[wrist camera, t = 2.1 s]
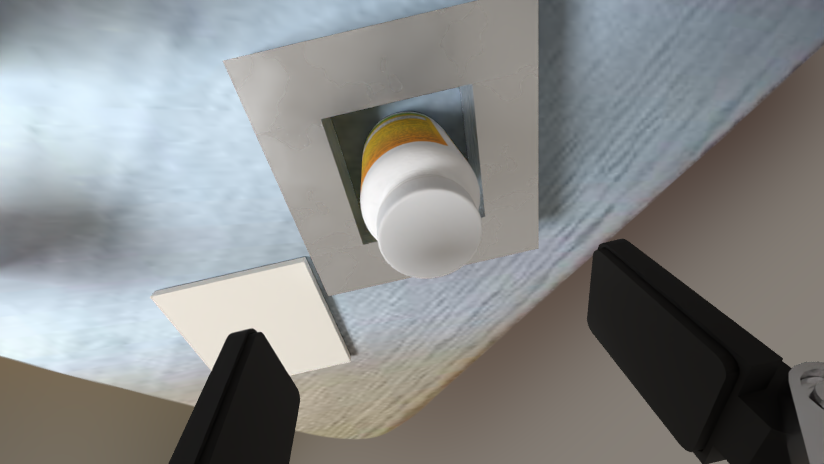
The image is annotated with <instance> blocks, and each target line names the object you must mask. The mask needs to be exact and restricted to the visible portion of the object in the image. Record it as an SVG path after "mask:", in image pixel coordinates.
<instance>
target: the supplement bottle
mask: <svg viewBox="0 0 824 464" xmlns="http://www.w3.org/2000/svg"><path fill="white" fill-rule="evenodd" d="M360 203H361V211H362V216H363V219H364V222H365V224H366V226H367V228H368V230H369V231H370V233H371V234H372V235H373V236H374V238H375V239H376V240H377V241H378V245H379V249H380V251H381V254H382V255H383V257H384V259H385V260H386V261H387V263H388V264H389V265H390V266H391V267H392V268H394V269H395V270H397V271H398V272H400V273H402V274H404V275H407V276H410V277H415V278H422V279H429V278H437V277H442V276H445V275H448V274H450V273H452V272H454V271H456V270H458V269H460V268H461V267H462V266H464V265H465V264H466V263H467V262H468V261H469V260H470V259H471V258H472V257H473V255H474V254H475V253H476V251H477V249H478V247H479V245H480V242H481V239H482V233H483V225H482V219H481V216H480V213H479V211H478V210H479V205H480V189H479V184H478V181H477V178H476V176H475V173H474V172H473V170H472V168H471V166H470V165H469V163H468V162H467V160H466V159H465V158H464V156H463V155H462V154H461V152H460V151H459V150H458V149H457V147H456V146H455V144H454V143H453V142H452V140H451V139H450V137H449V136H448V135H447V133H446V132H445V131H444V130H443V128H442V127H441V126H440V125H439V124H438V123H437V122H436V121H434V120H433V119H431V118H430V117H428V116H426V115H423V114H420V113H416V112H399V113H395V114H392V115H389V116H387V117H385V118H384V119H382V120H381V121H380V122H378V123H377V124H376V125H375V126H374V127H373V129H372V130H371V131H370V133H369V134H368V136H367V138H366V141H365V144H364V148H363V154H362V177H361V194H360Z"/></svg>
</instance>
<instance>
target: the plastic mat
mask: <svg viewBox="0 0 824 464" xmlns="http://www.w3.org/2000/svg"><path fill="white" fill-rule="evenodd" d="M150 298H151V299H152V300H153V301H154V302H155V304H156V305H157V306H158V307H159V308H160V310H161V311H162V312H163V313H164V314H165V316H166V317H167V318H168V319H169V320H170V322H171V323H172V324H173V325H174V326H175V328H176V329H177V330H178V331H179V332H180V334H181V335H182V336H183V337H184V338H185V340H186V341H187V342H188V343H189V344H190V346H191V347H192V348H193V349H194V351H195V352H196V353H197V354H198V355H199V357H200V358H201V359H202V360H203V361H204V363H205V364H206V365H207V366H208V367H209V369H210V370H211V371H212V369H213V366H214V364H215V362H216V360H217V358H218V356H219V353H220V351H221V349H222V347H223V345H224V343H225V340H226V338H227V337H228V335H229V334H231V333H234V332H238V331H242V330H246V329H250V328H253V329H255V330H256V331H257V332H262V333H263V334H264V335H265V337H266V339H267V340H268V342H269V343H270V345H271V347H272V348H273V350H274V351H275V353H276V355H277V356H278V358H279V360H280V361H281V363H282V364H283V366H284V368H285V369H286V371H287V372H288V374H289V376H290V375H294V374H298V373H303V372H307V371H312V370H316V369H321V368H325V367H329V366H334V365H338V364H343V363H347V362H350V361H351V355H350V353H349V351H348V349H347V347H346V345H345V342H344V340H343V338H342V336H341V334H340V331H339V329H338V327H337V325H336V323H335V321H334V318H333V316H332V314H331V312H330V310H329V307H328V305H327V303H326V301H325V299H324V297H323V294H322V292H321V290H320V288H319V286H318V284H317V281H316V279H315V277H314V275H313V273H312V270H311V268H310V266H309V264H308V262H307V260H306V257H302V258H298V259H293V260H289V261H285V262H280V263H276V264H272V265H267V266H263V267H259V268H254V269H250V270H245V271H241V272H237V273H232V274H228V275H224V276H219V277H215V278H211V279H206V280H202V281H198V282H193V283H189V284H184V285H180V286H176V287H171V288H167V289H163V290H158V291H155V292H154V293H153V294H152V295H151V297H150Z"/></svg>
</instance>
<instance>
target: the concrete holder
mask: <svg viewBox="0 0 824 464" xmlns="http://www.w3.org/2000/svg"><path fill="white" fill-rule="evenodd" d="M223 63H224V65H225V67H226V69H227V72H228V74H229V76H230V78H231V80H232V83H233V85H234V87H235V89H236V92H237V94H238V96H239V98H240V101H241V103H242V105H243V107H244V109H245V112H246V114H247V116H248V118H249V121H250V123H251V125H252V127H253V130H254V132H255V134H256V136H257V138H258V141H259V143H260V145H261V147H262V150H263V152H264V154H265V156H266V158H267V161H268V163H269V165H270V167H271V170H272V172H273V174H274V176H275V179H276V181H277V183H278V185H279V187H280V190H281V192H282V194H283V196H284V199H285V201H286V203H287V205H288V208H289V210H290V212H291V214H292V216H293V219H294V221H295V223H296V225H297V228H298V230H299V232H300V234H301V237H302V239H303V241H304V243H305V245H306V248H307V250H308V252H309V254H310V257H311V259H312V261H313V263H314V266H315V268H316V270H317V272H318V274H319V277H320V279H321V281H322V283H323V286H324V288H325V290H326V292H327V294H328V296H332V295H336V294H340V293H345V292H349V291H354V290H358V289H362V288H367V287H371V286H376V285H380V284H384V283H389V282H393V281H397V280H402V279H406V278H411V277H410V276H407V275H404V274H402V273H400V272H398V271H397V270H395V269H394V268H392V267H391V266H390V265H389V264H388V263H387V261H386V260H385V259H384V257H383V255H382V254H381V251H380V249H379V245H378V241H377V240H376V239H375V238H374V236H373V235H372V234H371V233H370V231H369V230H368V228H367V226H366V224H365V222H364V219H363V216H362V213H361V210H360V207H359V204H358V201H357V197H356V194H355V191H354V188H353V185H352V182H351V179H350V176H349V173H348V169H347V166H346V163H345V160H344V157H343V154H342V151H341V148H340V144H339V141H338V138H337V135H336V132H335V129H334V126H333V123H332V120H331V117H332V116H336V115H341V114H345V113H349V112H353V111H358V110H362V109H366V108H371V107H375V106H379V105H383V104H388V103H392V102H396V101H400V100H405V99H409V98H413V97H417V96H422V95H426V94H430V93H434V92H439V91H443V90H447V89H452V88H456V87H460V96H461V104H462V113H463V121H464V130H465V139H466V147H467V156H468V163H469V165H470V166H471V168H472V170H473V172H474V173H475V176H476V178H477V181H478V184H479V189H480V205H479V210H478V211H479V213H480V216H481V219H482V225H483V233H482V239H481V242H480V245H479V247H478V249H477V251H476V253H475V254H474V255H473V257H472V258H471V259H470V260H469V261H468V262H467V263H466V264H465V265H468V264H472V263H477V262H481V261H485V260H490V259H494V258H498V257H503V256H507V255H512V254H516V253H520V252H525V251H529V250H534V249H538V0H477V1H473V2H469V3H464V4H460V5H456V6H452V7H448V8H443V9H439V10H435V11H431V12H427V13H422V14H418V15H414V16H410V17H406V18H401V19H397V20H393V21H389V22H384V23H380V24H376V25H372V26H368V27H363V28H359V29H355V30H351V31H347V32H342V33H338V34H334V35H330V36H326V37H321V38H317V39H313V40H309V41H305V42H300V43H296V44H292V45H288V46H283V47H279V48H275V49H271V50H267V51H262V52H258V53H254V54H250V55H246V56H241V57H237V58H233V59H229V60H225V61H223Z"/></svg>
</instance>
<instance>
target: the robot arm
mask: <svg viewBox="0 0 824 464" xmlns="http://www.w3.org/2000/svg"><path fill="white" fill-rule="evenodd" d="M587 322H588V326H589V328H590V330H591V331H592V333H593V334H594V335H595V337H596V338H597V339H598V340H599V342H600V343H601V344H602V345H603V347H604V348H605V349H606V350H607V352H608V353H609V355H610V356H611V357H612V358H613V360H614V361H615V362H616V364H617V365H618V366H619V367H620V369H621V370H622V371H623V372H624V374H625V375H626V376H627V377H628V379H629V380H630V381H631V383H632V384H633V385H634V387H635V388H636V389H637V390H638V392H639V393H640V394H641V396H642V397H643V398H644V399H645V400H646V402H647V403H648V404H649V406H650V407H651V408H652V410H653V411H654V412H655V413H656V415H657V416H658V417H659V419H660V420H661V421H662V422H663V424H664V425H665V426H666V427H667V429H668V430H669V431H670V433H671V434H672V435H673V436H674V438H675V439H676V440H677V441H678V443H679V444H680V445H681V446H682V447H683V448H684V449H685V450H687V451H689V452H693V453H694V454H695V455H696V456H697V458H698V459H699V460H700V461H701V463H702V464H709V463H713V462H717V461H722V460H727V461H728V462H729V463H730V464H824V363H823V362H804V363H801V364H798V365H795V366H794V367H793V368H790V367H789V366H788V365H786V364H785V363H784V362H782V360H783V358H782V357H780V356H779V355H777V354H776V353H775V352H774V351H772V350H771V349H770V348H768V347H767V346H766V345H765V344H763V343H762V342H761V341H759V340H758V339H757V338H755V337H754V336H753V335H751V334H750V333H749V332H747V331H746V330H745V329H743V328H742V327H741V326H739V325H738V324H737V323H736V322H734V321H733V320H732V319H730V318H729V317H728V316H726V315H725V314H724V313H722V312H721V311H720V310H718V309H717V308H716V307H714V306H713V305H712V304H710V303H709V302H708V301H706V300H705V299H704V298H702V297H701V296H700V295H699V294H697V293H696V292H695V291H693V290H692V289H691V288H689V287H688V286H687V285H685V284H684V283H683V282H681V281H680V280H679V279H677V278H676V277H675V276H673V275H672V274H671V273H670V272H668V271H667V270H666V269H664V268H663V267H662V266H660V265H659V264H658V263H656V262H655V261H654V260H652V259H651V258H650V257H648V256H647V255H646V254H644V253H643V252H642V251H640V250H639V249H638V248H637V247H635V246H634V245H633V244H631V243H630V242H628V241H627V240H625V239H618V240H614V241H610V242H606V243H602V244H600V245H599V247H598V250H596V251H594V253H593V262H592V273H591V283H590V293H589V305H588V316H587ZM299 404H300V395H299V391H298V389H297V387H296V385H295V384H294V382H293V381H292V379H291V377H290V376H289V374H288V372H287V371H286V369H285V368H284V366H283V364H282V363H281V361H280V360H279V358H278V356H277V355H276V353H275V351H274V350H273V348H272V347H271V345H270V343H269V342H268V340H267V339H266V337H265V335H264V334H263V333H262V332H257V331H256V330H255V329H253V328H250V329H246V330H242V331H238V332H234V333H231V334H229V335H228V337H227V338H226V340H225V343H224V345H223V347H222V349H221V351H220V353H219V356H218V358H217V360H216V362H215V364H214V366H213V369H212V371H211V373H210V375H209V377H208V379H207V382H206V384H205V386H204V388H203V390H202V392H201V394H200V397H199V399H198V401H197V403H196V405H195V407H194V410H193V412H192V414H191V416H190V418H189V420H188V423H187V425H186V427H185V429H184V431H183V434H182V436H181V438H180V440H179V442H178V444H177V447H176V449H175V451H174V453H173V455H172V457H171V459H170V462H169V464H289V461H290V455H291V449H292V444H293V438H294V433H295V427H296V421H297V416H298V410H299Z"/></svg>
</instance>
